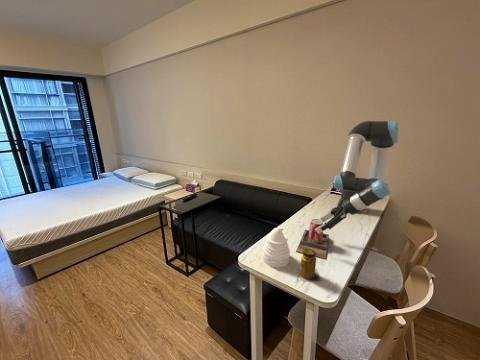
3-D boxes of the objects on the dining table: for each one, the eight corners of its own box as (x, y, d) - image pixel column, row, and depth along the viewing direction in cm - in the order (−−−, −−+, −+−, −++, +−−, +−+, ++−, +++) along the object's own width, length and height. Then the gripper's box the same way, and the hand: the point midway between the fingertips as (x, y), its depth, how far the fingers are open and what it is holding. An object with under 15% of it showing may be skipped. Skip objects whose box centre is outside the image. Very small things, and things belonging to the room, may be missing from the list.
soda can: (306, 238, 124) (308, 218, 121) (318, 237, 125) (320, 218, 121) (311, 245, 117) (313, 225, 114) (324, 244, 118) (326, 224, 115)
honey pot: (294, 257, 110) (296, 224, 104) (280, 271, 100) (282, 236, 95) (271, 247, 118) (272, 217, 112) (257, 260, 108) (257, 227, 103)
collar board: (304, 234, 131) (304, 228, 130) (329, 239, 125) (330, 234, 124) (296, 253, 114) (296, 247, 113) (324, 260, 108) (325, 254, 107)
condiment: (297, 269, 101) (299, 246, 98) (316, 269, 101) (318, 246, 98) (301, 281, 94) (303, 257, 91) (322, 281, 94) (324, 257, 91)
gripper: (359, 221, 95) (319, 243, 106) (361, 200, 115) (328, 220, 127) (346, 208, 95) (309, 230, 107) (351, 189, 116) (319, 210, 128)
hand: (319, 225), depth 117 cm, fingers open, 13 cm apart
